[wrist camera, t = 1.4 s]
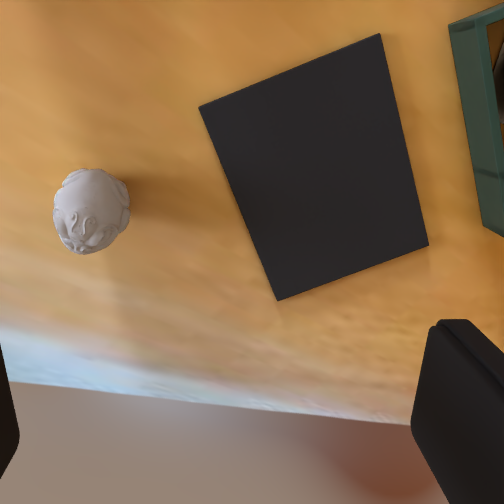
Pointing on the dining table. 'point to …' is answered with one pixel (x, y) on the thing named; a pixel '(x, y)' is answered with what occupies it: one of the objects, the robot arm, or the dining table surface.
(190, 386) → the dining table surface
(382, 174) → the mat
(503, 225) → the caddy
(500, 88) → the condiment
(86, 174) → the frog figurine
